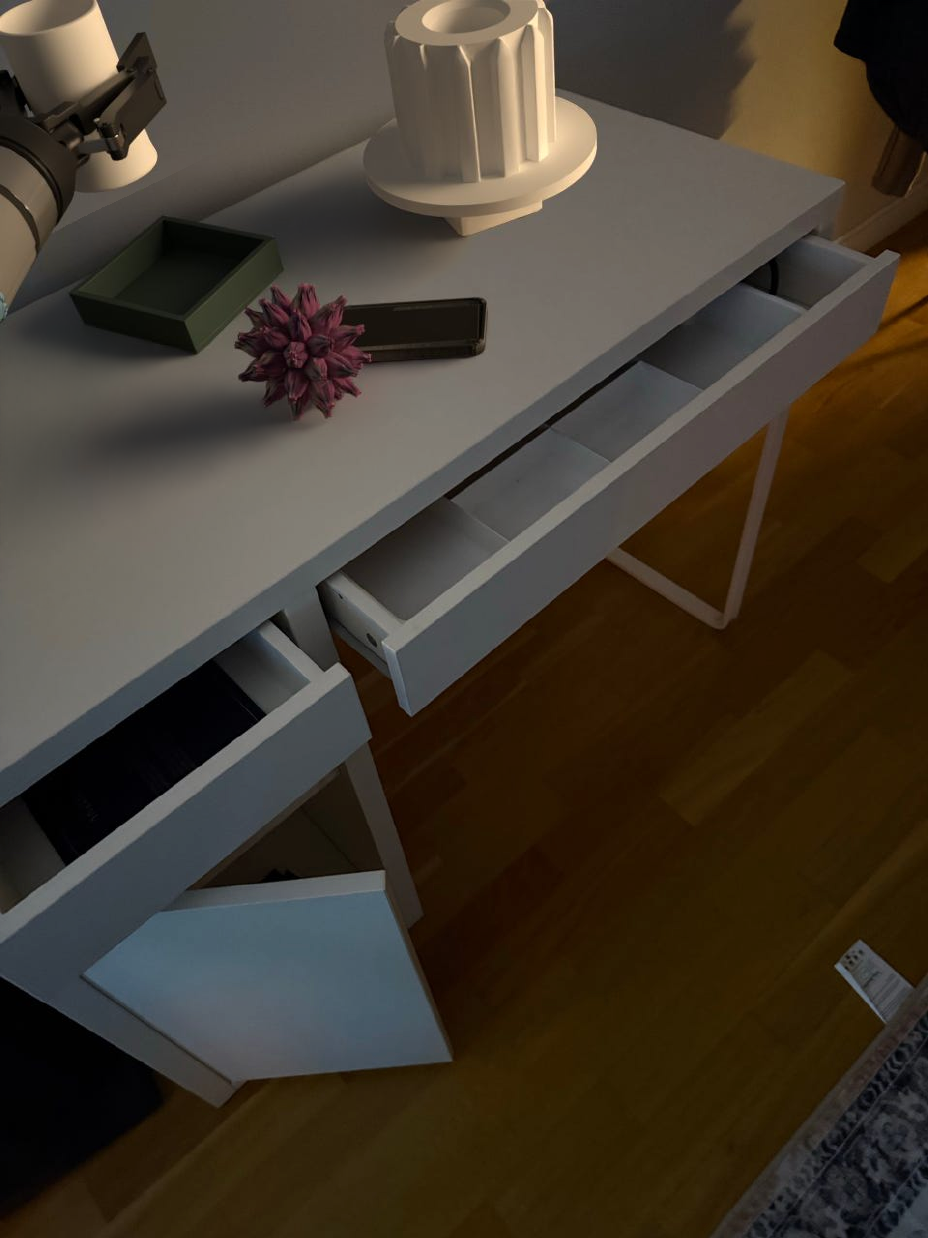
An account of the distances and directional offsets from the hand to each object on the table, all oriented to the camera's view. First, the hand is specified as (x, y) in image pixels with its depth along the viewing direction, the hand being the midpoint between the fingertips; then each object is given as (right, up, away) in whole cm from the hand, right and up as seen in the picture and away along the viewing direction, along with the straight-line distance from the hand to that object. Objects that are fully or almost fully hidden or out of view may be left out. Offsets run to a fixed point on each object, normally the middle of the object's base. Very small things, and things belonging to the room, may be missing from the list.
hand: (99, 54), depth 78 cm
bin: (+1, -14, +19) cm, 24 cm away
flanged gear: (+34, -2, +24) cm, 42 cm away
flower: (+18, -29, +6) cm, 34 cm away
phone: (+26, -21, +11) cm, 35 cm away
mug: (+1, -8, +2) cm, 8 cm away
